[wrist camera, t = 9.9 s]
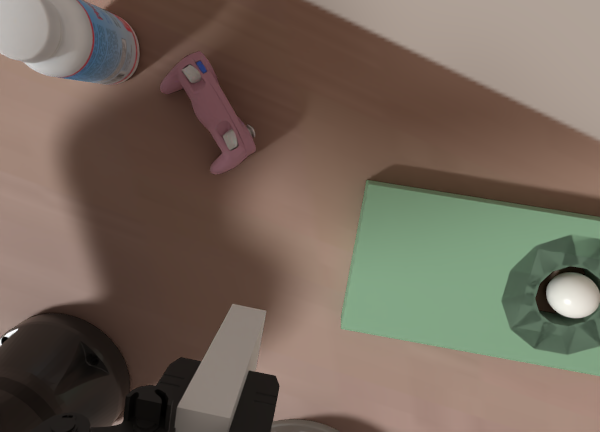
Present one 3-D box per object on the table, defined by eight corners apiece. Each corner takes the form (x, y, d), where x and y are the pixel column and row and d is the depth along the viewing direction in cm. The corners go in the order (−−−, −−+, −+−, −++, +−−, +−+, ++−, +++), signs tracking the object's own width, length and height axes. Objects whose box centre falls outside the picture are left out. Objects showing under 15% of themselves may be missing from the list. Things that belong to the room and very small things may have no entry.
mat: (341, 316, 41) (341, 328, 39) (366, 179, 38) (368, 184, 35) (607, 364, 40) (625, 380, 37) (659, 226, 36) (682, 234, 34)
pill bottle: (142, 17, 36) (57, -26, 26) (142, 88, 38) (61, 76, 27) (77, 11, 37) (-33, -34, 26) (79, 82, 38) (-24, 67, 27)
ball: (562, 303, 39) (601, 327, 36) (529, 302, 38) (566, 327, 35) (578, 265, 38) (619, 286, 35) (544, 263, 37) (583, 285, 33)
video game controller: (254, 156, 40) (271, 144, 33) (213, 180, 39) (222, 172, 32) (200, 65, 38) (206, 32, 32) (156, 86, 37) (152, 57, 31)
